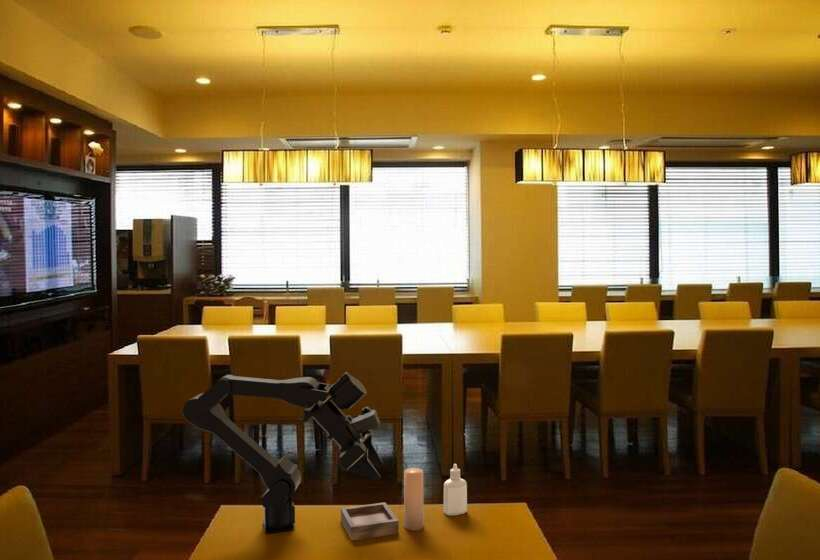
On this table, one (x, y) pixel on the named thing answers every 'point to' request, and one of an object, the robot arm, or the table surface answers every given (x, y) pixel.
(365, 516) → the square wooden tray
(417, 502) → the peach tall rounded piece
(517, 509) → the table surface
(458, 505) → the eye dropper bottle
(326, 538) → the table surface
